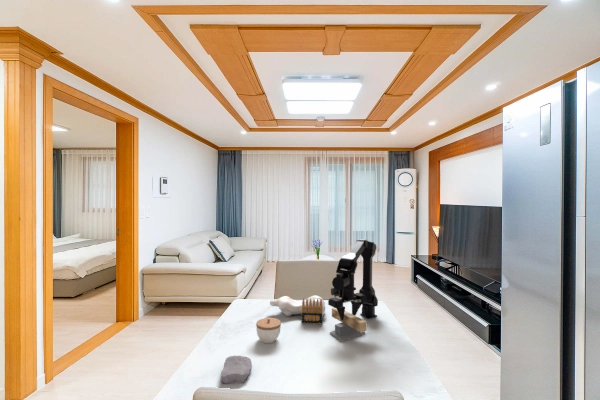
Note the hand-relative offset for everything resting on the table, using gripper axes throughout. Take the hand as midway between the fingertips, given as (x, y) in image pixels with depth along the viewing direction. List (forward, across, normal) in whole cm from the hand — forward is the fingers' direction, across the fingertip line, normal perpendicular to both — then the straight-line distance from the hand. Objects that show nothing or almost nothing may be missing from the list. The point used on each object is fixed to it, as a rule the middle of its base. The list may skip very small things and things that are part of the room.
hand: (347, 318), depth 135 cm
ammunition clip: (+7, +7, -19) cm, 22 cm away
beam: (+2, 0, 0) cm, 2 cm away
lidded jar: (+7, +34, -13) cm, 37 cm away
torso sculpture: (+7, +8, -33) cm, 34 cm away
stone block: (+8, +54, +4) cm, 55 cm away
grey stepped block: (+7, 0, 0) cm, 7 cm away
